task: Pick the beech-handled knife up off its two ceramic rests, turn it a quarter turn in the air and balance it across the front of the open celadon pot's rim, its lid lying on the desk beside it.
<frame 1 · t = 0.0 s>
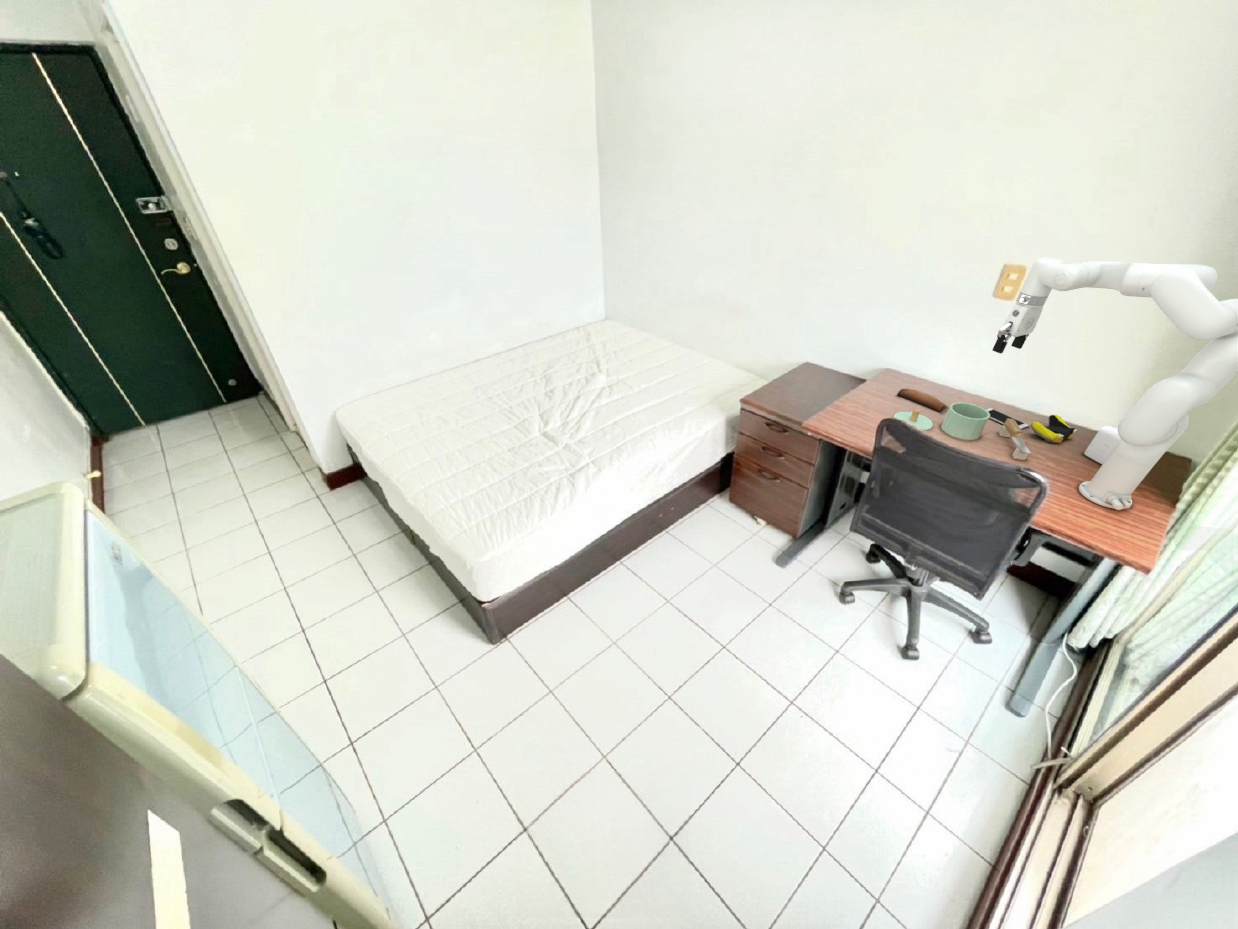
hand: (1006, 349, 166), 31 cm above the table, tool pointing down, fingers open, 9 cm apart
lid: (912, 421, 187), point 1 cm above the table
pot: (959, 431, 182), on the table
smartphone: (1002, 420, 188), on the table
sunglasses case: (922, 402, 200), on the table
knife: (1015, 437, 172), point 3 cm above the table, touching knife rests
knife rests: (1010, 446, 173), on the table
photo printer: (1099, 461, 166), on the table
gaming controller: (1049, 436, 179), on the table
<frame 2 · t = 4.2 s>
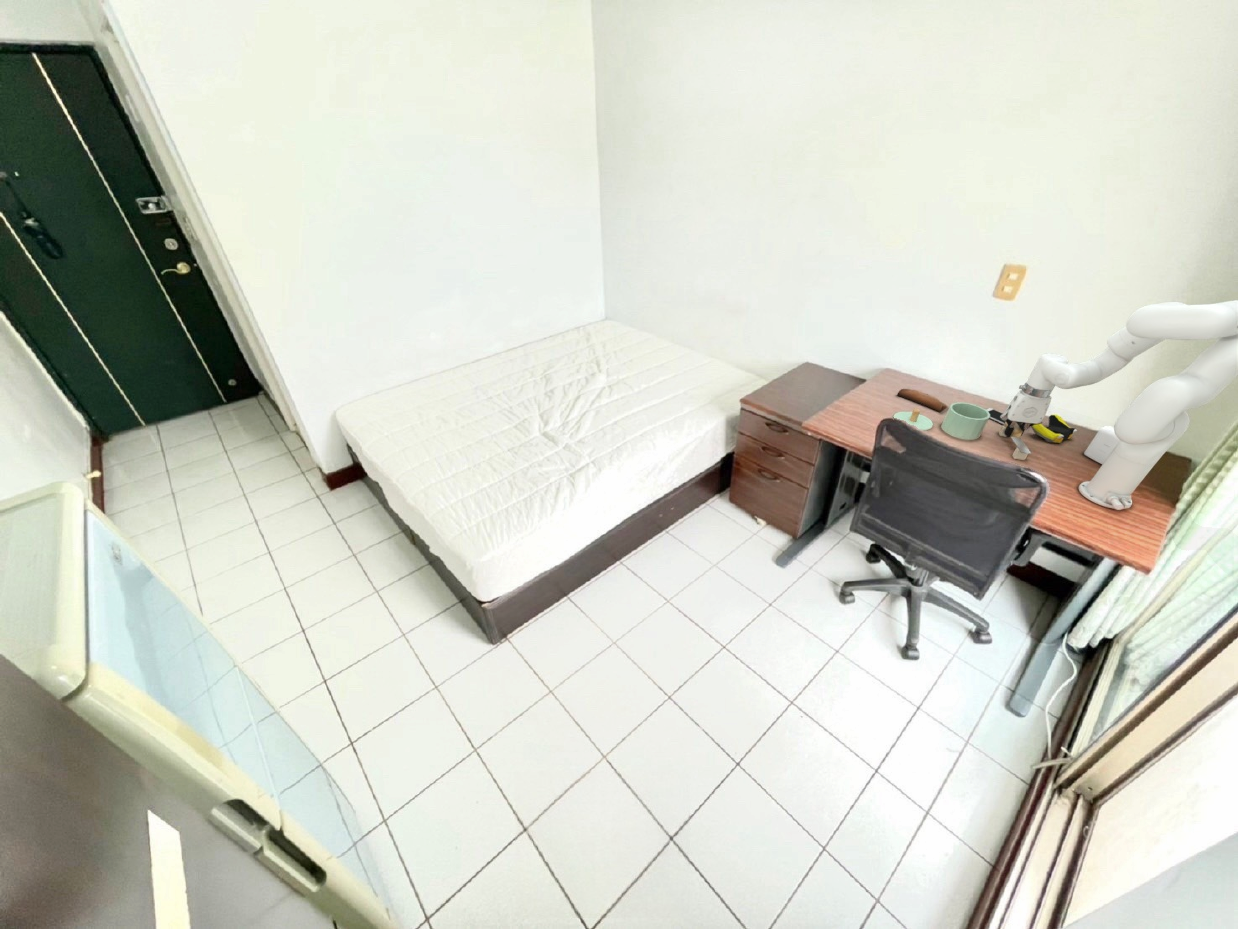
hand: (1011, 435, 174), 3 cm above the table, tool pointing down, fingers closed on knife, 2 cm apart
knife: (1015, 437, 172), point 4 cm above the table, touching gripper, knife rests
everything else where it was.
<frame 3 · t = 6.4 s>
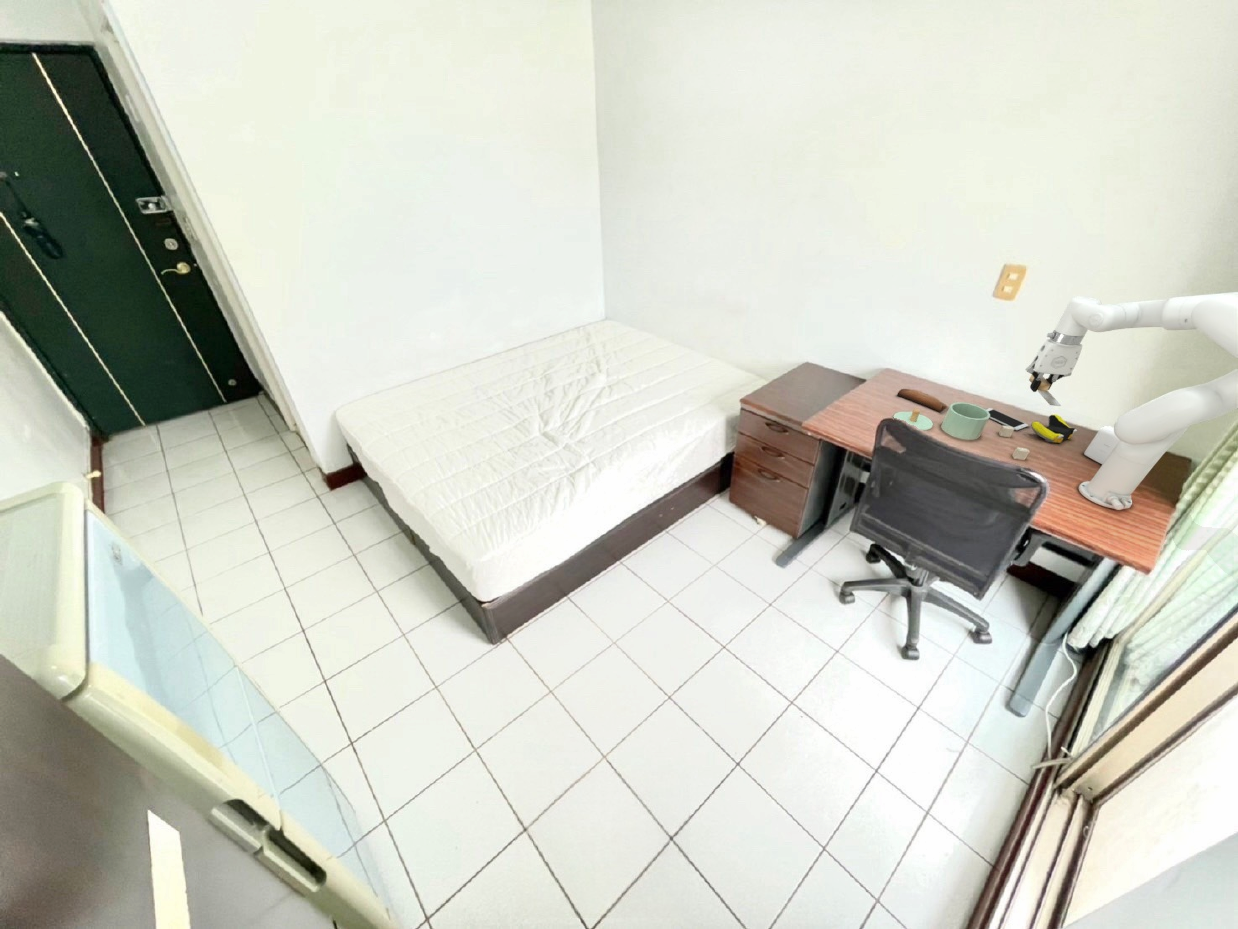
hand: (1038, 390, 163), 21 cm above the table, tool pointing down, fingers closed on knife
knife: (1042, 391, 161), point 22 cm above the table, touching gripper
everything else where it was.
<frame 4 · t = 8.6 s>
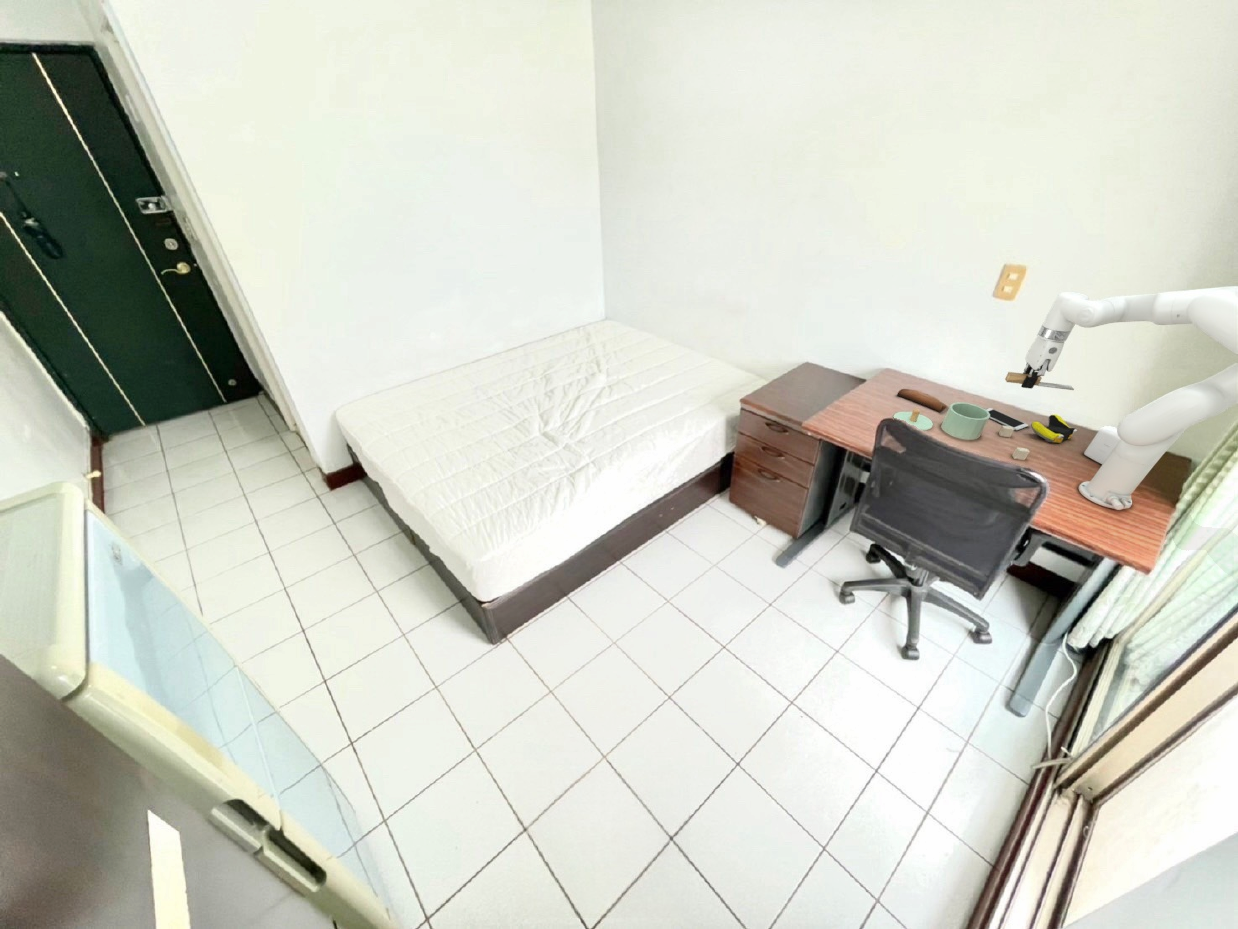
hand: (1025, 385, 163), 22 cm above the table, tool pointing down, fingers closed on knife
knife: (1034, 384, 162), point 23 cm above the table, touching gripper
everything else where it was.
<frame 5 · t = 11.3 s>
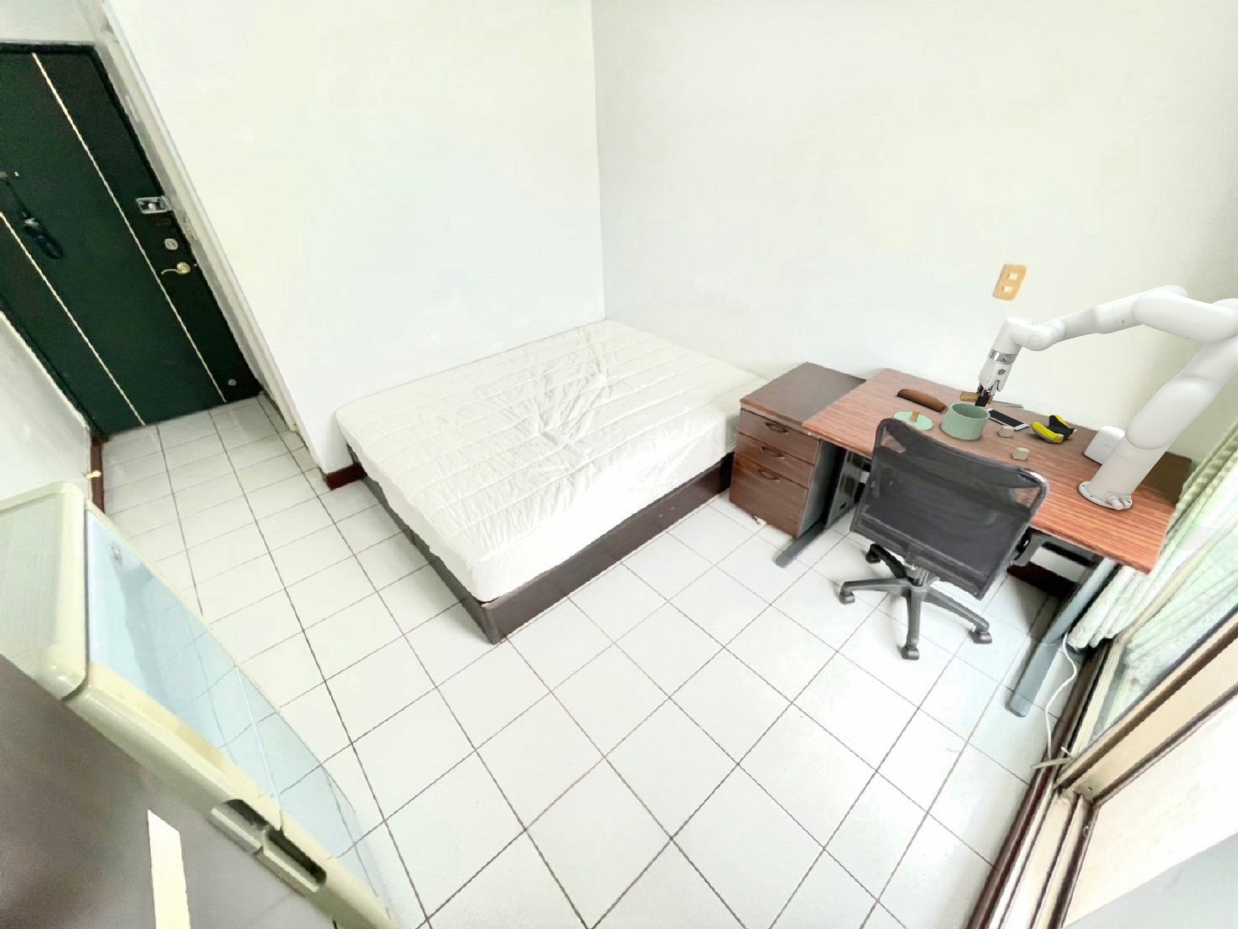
hand: (978, 403, 170), 14 cm above the table, tool pointing down, fingers closed on knife
knife: (987, 402, 169), point 15 cm above the table, touching gripper
everything else where it was.
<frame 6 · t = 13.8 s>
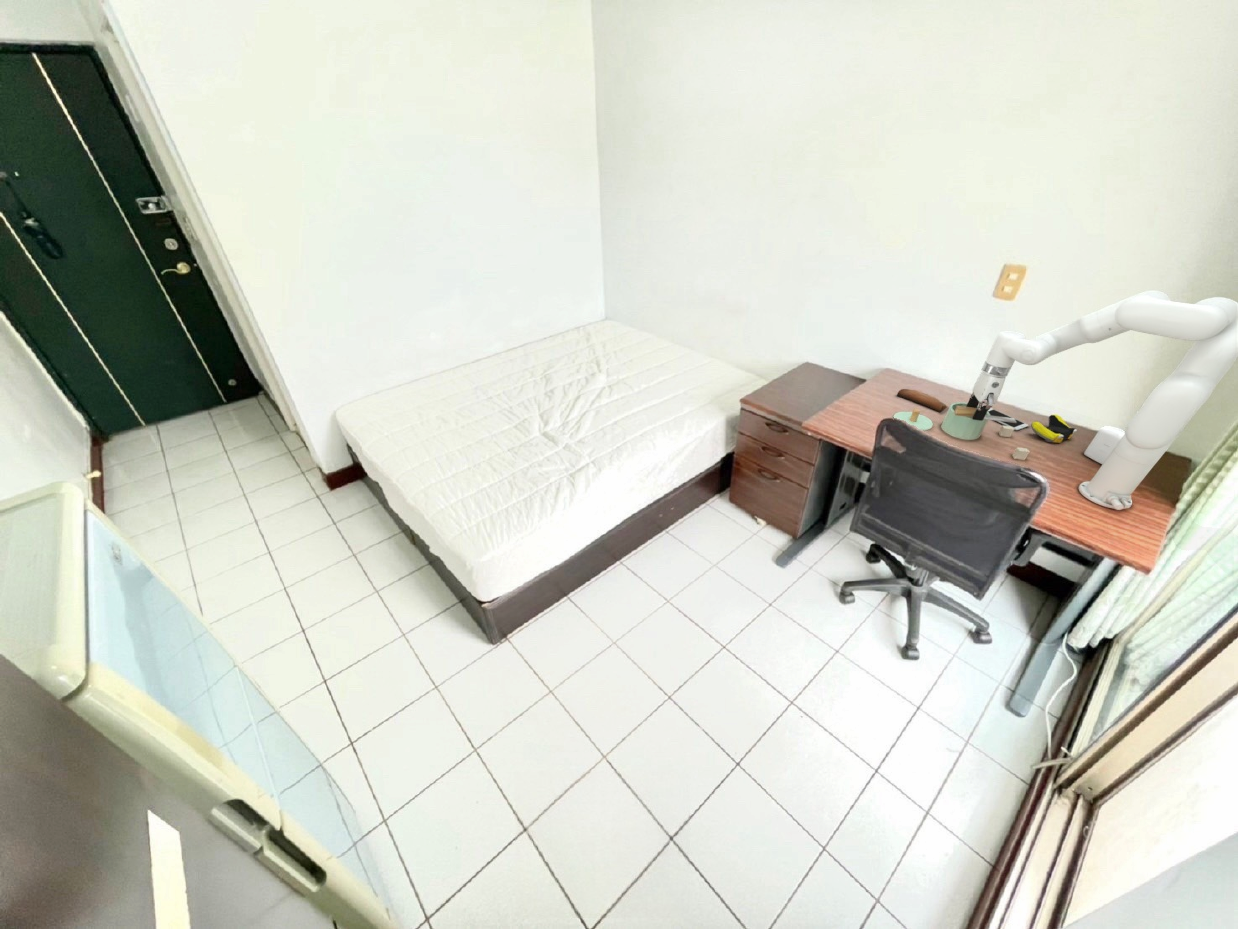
hand: (974, 413, 173), 10 cm above the table, tool pointing down, fingers open, 7 cm apart
knife: (981, 417, 173), point 9 cm above the table, touching pot
everything else where it was.
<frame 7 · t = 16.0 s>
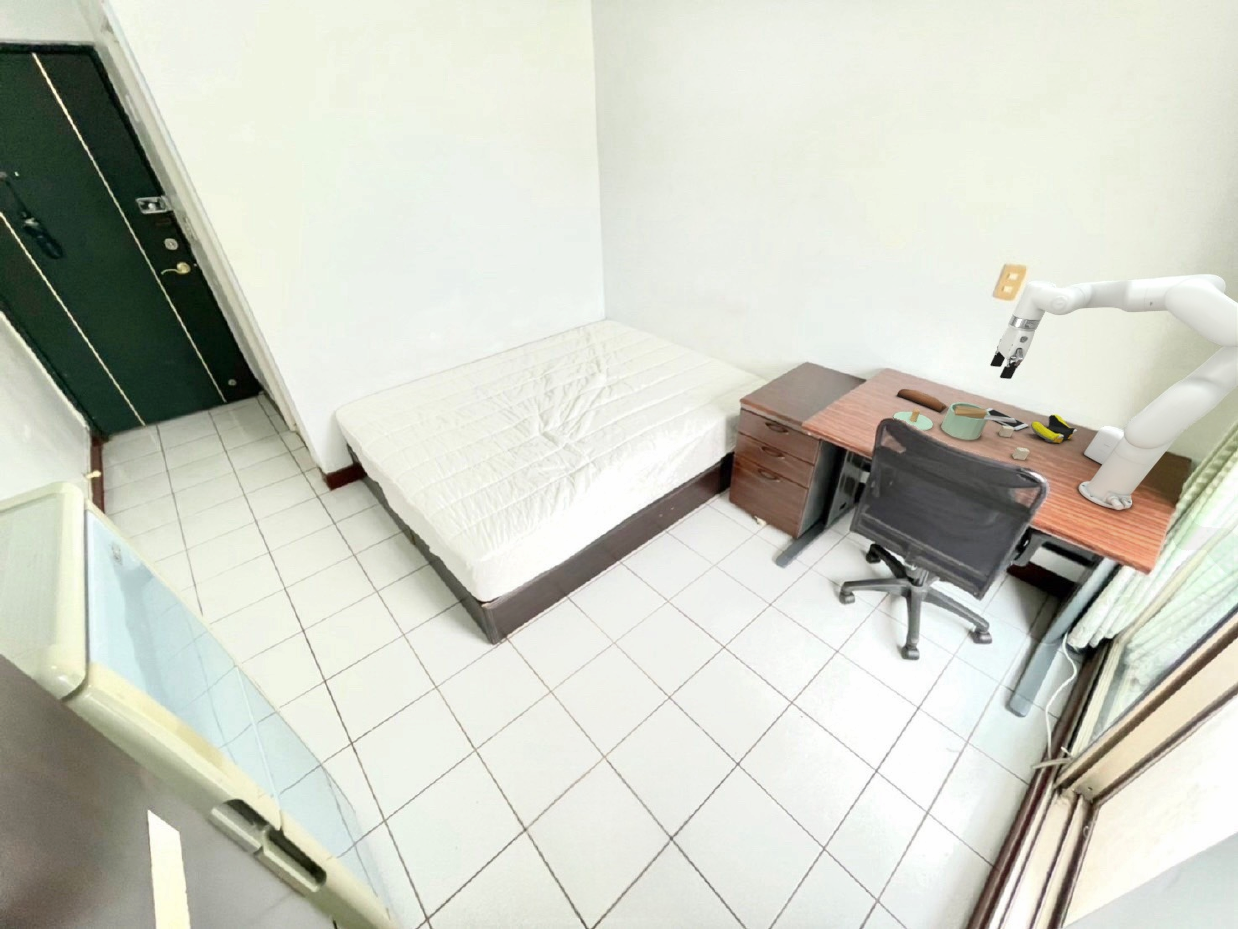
hand: (1000, 372, 163), 26 cm above the table, tool pointing down, fingers open, 9 cm apart
nothing on the table moved.
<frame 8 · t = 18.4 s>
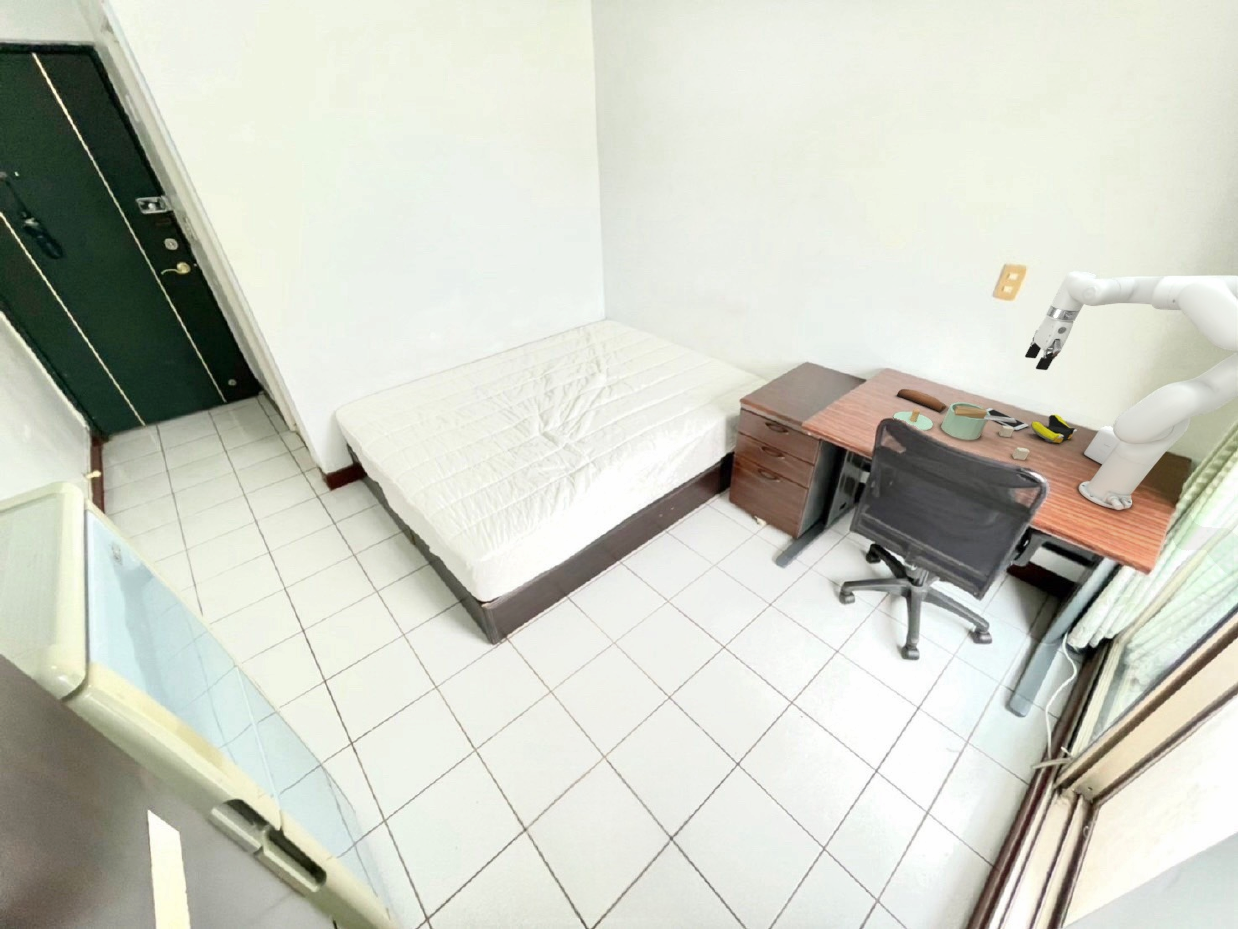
hand: (1035, 363, 163), 28 cm above the table, tool pointing down, fingers open, 9 cm apart
nothing on the table moved.
at the end: knife 0.4 cm from the target spot on the pot, point 9.0 cm above the pot's base; knife tilted 0°; the gripper is holding nothing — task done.
